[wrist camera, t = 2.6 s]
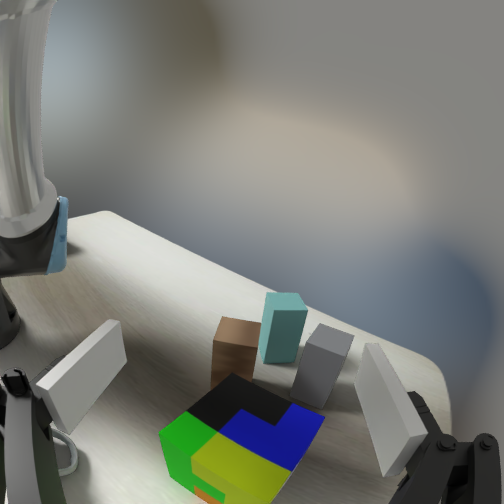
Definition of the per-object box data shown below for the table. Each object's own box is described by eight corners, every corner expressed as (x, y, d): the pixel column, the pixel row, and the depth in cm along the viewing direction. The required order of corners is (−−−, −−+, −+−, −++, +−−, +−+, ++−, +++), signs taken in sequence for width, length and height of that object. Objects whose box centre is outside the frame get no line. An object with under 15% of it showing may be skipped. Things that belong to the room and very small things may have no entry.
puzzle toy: (298, 464, 24) (325, 416, 21) (250, 527, 16) (268, 503, 13) (225, 426, 29) (232, 372, 26) (170, 476, 21) (158, 432, 18)
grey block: (289, 396, 35) (306, 341, 32) (303, 376, 39) (319, 323, 36) (321, 409, 33) (345, 356, 29) (333, 387, 37) (354, 335, 33)
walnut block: (210, 396, 33) (213, 339, 30) (217, 371, 38) (222, 316, 35) (247, 402, 33) (257, 347, 30) (251, 377, 38) (261, 323, 34)
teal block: (263, 363, 41) (273, 310, 38) (257, 343, 46) (266, 292, 42) (294, 362, 42) (308, 310, 39) (286, 343, 47) (297, 293, 43)
